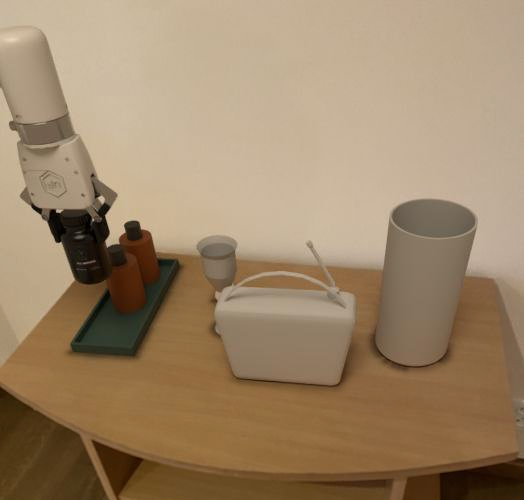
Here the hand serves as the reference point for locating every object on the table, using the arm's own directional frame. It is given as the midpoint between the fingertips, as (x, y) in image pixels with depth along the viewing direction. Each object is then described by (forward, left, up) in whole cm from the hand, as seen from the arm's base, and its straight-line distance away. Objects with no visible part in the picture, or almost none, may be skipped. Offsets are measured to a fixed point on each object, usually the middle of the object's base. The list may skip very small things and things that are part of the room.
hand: (82, 238), depth 84 cm
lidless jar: (+12, +21, -21) cm, 32 cm away
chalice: (+18, +13, -21) cm, 31 cm away
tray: (-4, +9, -21) cm, 23 cm away
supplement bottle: (0, 0, -7) cm, 7 cm away
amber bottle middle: (-4, +9, -21) cm, 23 cm away
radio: (+34, +9, -21) cm, 41 cm away
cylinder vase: (+50, +25, -21) cm, 60 cm away
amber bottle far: (-8, +17, -21) cm, 28 cm away
